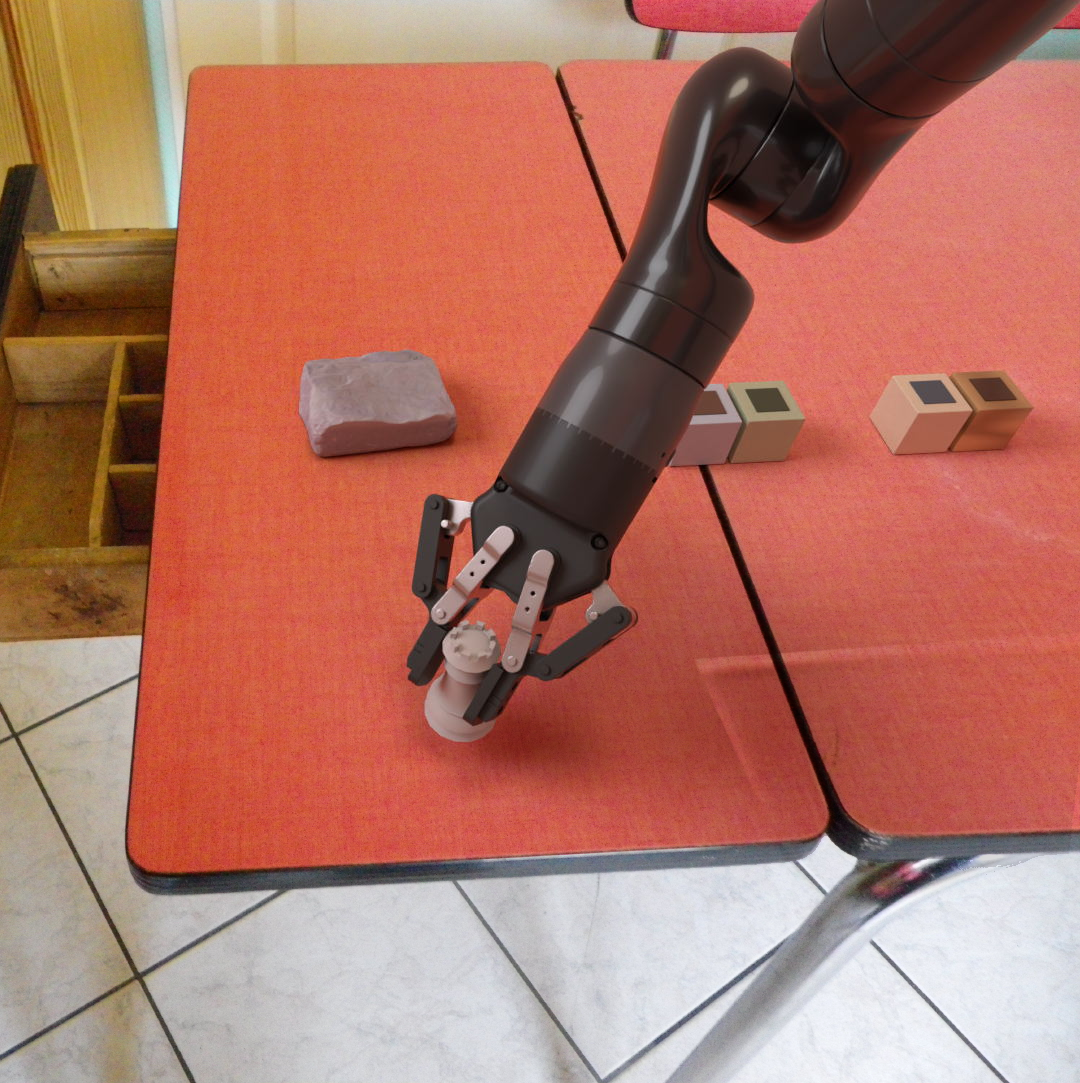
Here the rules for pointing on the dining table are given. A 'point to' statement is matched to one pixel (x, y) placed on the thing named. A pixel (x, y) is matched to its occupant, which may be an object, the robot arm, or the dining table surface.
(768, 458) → the block
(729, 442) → the block
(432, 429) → the stone block
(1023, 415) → the block
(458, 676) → the rook chess piece
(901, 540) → the dining table surface
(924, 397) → the block
